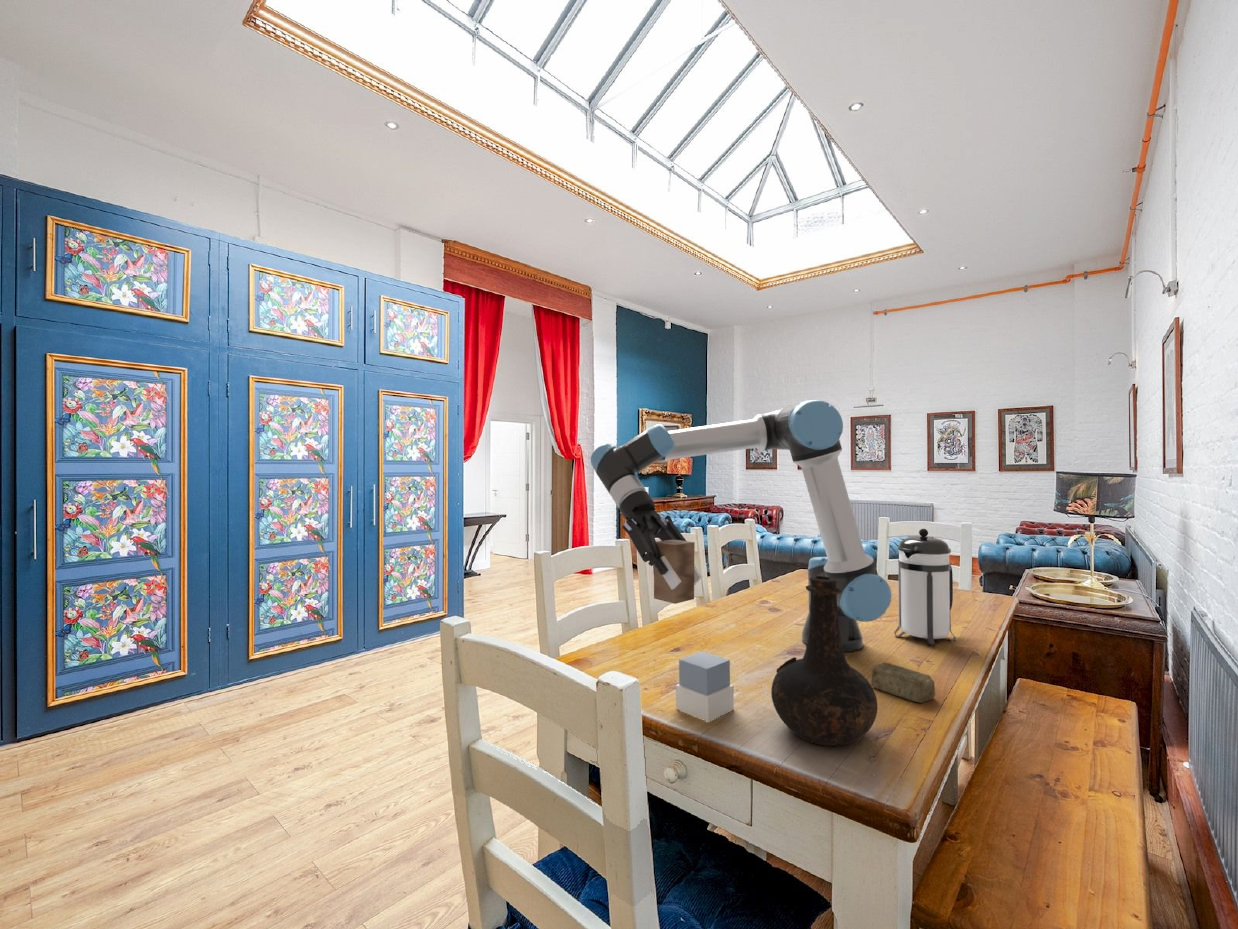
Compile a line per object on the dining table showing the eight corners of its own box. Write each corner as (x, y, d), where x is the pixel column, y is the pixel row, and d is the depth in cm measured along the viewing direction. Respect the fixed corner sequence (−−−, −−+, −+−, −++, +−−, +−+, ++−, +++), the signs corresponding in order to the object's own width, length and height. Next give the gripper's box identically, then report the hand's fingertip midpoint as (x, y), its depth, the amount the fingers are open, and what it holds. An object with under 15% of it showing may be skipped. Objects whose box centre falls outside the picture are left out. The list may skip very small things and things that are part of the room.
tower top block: (702, 675, 116) (702, 651, 116) (730, 685, 110) (729, 660, 110) (679, 685, 111) (679, 659, 111) (707, 695, 106) (706, 669, 106)
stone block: (922, 707, 111) (922, 681, 111) (868, 688, 121) (867, 665, 121) (937, 699, 115) (936, 675, 115) (883, 682, 124) (882, 659, 124)
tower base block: (701, 698, 116) (701, 674, 116) (733, 711, 110) (733, 685, 110) (675, 710, 111) (675, 685, 111) (708, 724, 105) (708, 697, 105)
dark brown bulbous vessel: (802, 703, 113) (801, 564, 113) (894, 734, 100) (893, 576, 100) (751, 733, 101) (750, 577, 101) (849, 772, 88) (848, 593, 88)
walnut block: (672, 594, 123) (673, 539, 123) (694, 599, 119) (694, 542, 119) (653, 598, 119) (654, 541, 119) (675, 603, 115) (675, 544, 115)
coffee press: (966, 650, 144) (965, 533, 144) (897, 644, 149) (896, 530, 149) (952, 631, 160) (951, 525, 160) (890, 626, 166) (889, 524, 166)
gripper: (653, 508, 137) (706, 587, 125) (593, 513, 124) (645, 601, 112) (669, 487, 133) (725, 566, 121) (609, 489, 120) (665, 578, 108)
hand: (687, 583), depth 116 cm, fingers closed on walnut block, 6 cm apart
